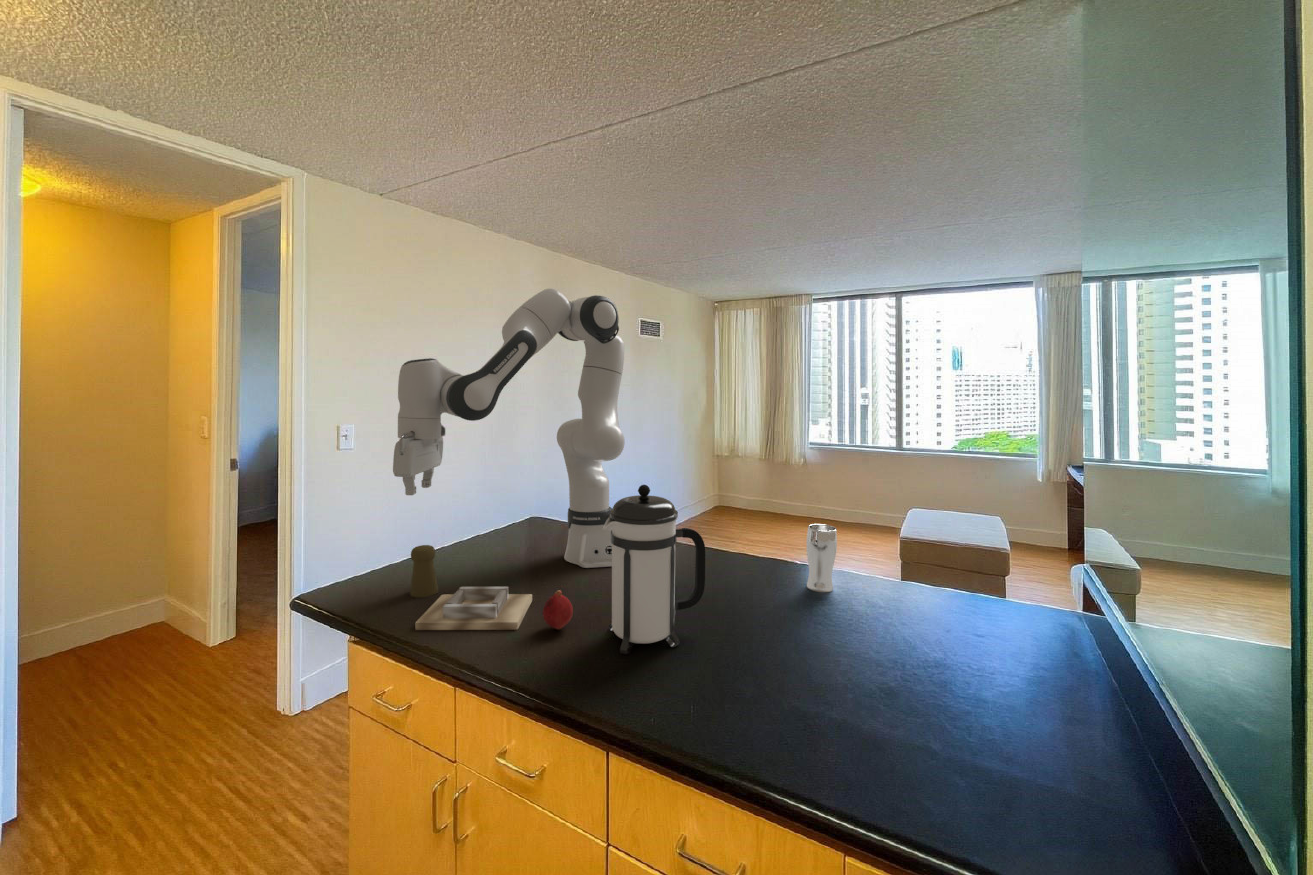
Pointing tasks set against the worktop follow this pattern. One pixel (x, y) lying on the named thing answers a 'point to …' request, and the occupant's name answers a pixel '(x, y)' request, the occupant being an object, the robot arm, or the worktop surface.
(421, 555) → the cork
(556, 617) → the red rounded piece
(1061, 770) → the worktop surface
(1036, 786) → the worktop surface
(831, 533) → the beer glass
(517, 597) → the collar board
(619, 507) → the coffee press
